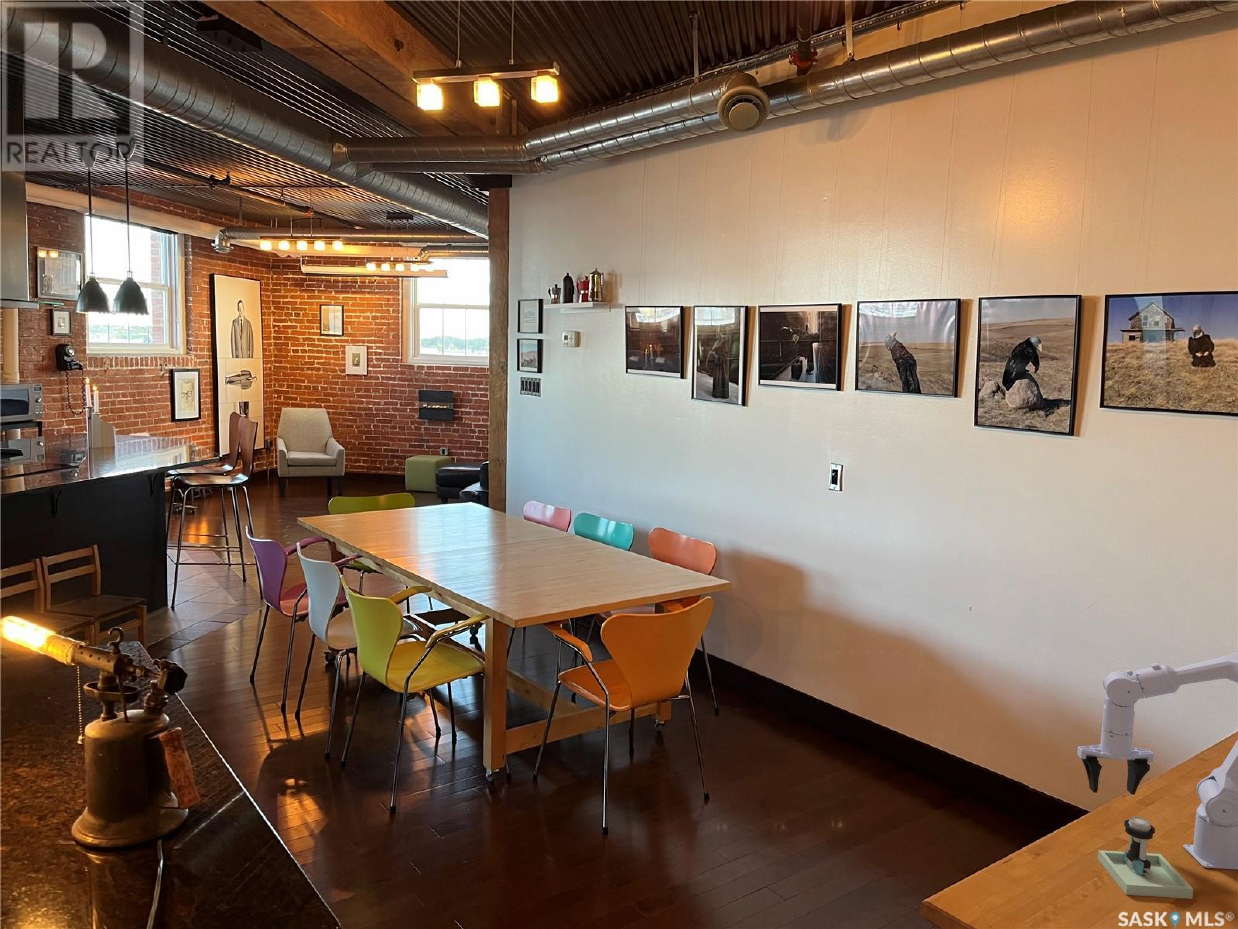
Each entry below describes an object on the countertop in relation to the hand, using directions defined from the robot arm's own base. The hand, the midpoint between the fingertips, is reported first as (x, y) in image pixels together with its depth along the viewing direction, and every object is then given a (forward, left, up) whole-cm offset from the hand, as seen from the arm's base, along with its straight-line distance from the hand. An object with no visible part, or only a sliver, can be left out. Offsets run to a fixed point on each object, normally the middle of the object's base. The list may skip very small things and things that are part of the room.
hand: (1112, 791), depth 187 cm
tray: (0, +15, -10) cm, 18 cm away
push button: (0, +13, -10) cm, 17 cm away
